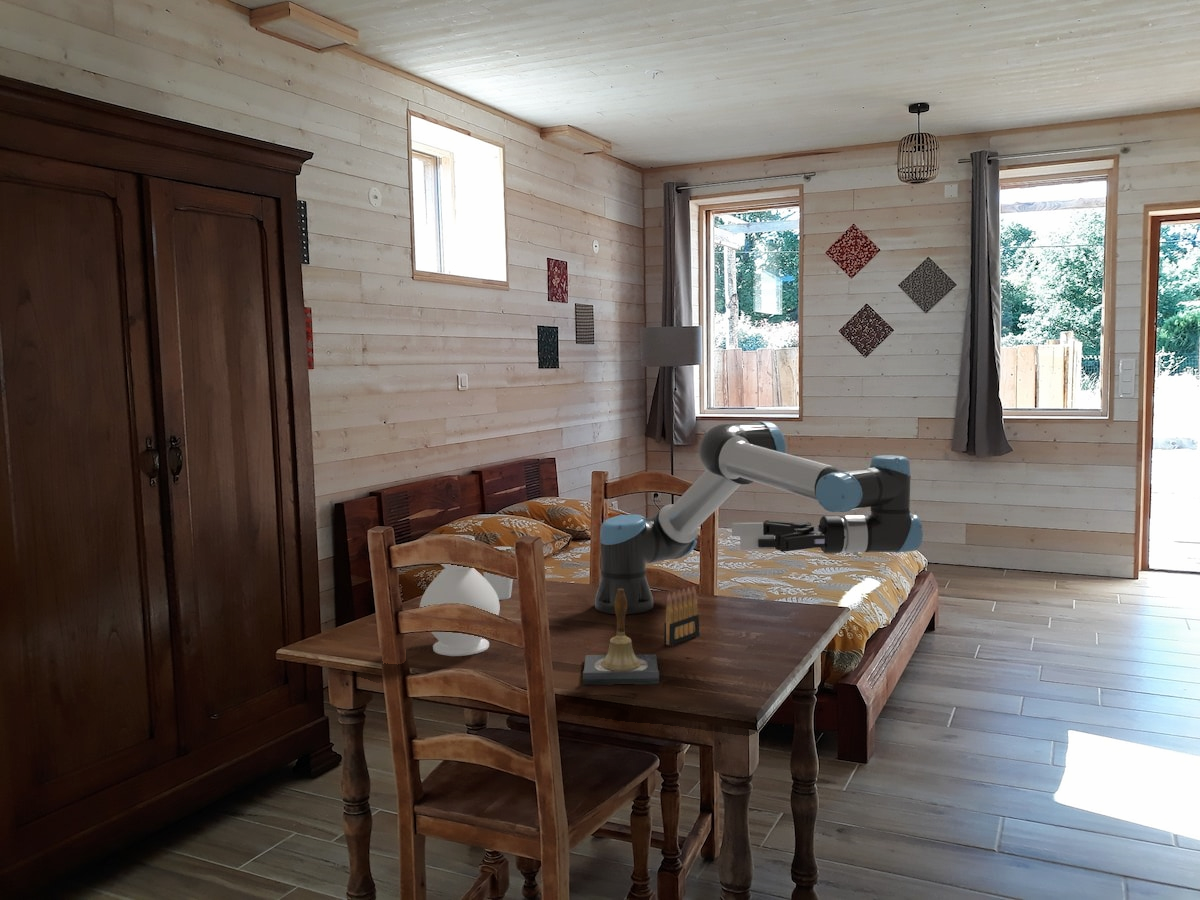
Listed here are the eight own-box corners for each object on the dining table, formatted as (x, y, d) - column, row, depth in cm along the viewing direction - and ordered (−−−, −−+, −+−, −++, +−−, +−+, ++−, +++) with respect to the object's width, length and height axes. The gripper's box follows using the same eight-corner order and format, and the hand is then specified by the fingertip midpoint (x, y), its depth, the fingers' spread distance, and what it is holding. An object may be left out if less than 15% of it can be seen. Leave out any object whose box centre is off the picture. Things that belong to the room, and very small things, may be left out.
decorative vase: (433, 664, 198) (428, 549, 195) (412, 642, 214) (408, 535, 211) (511, 652, 205) (508, 540, 203) (486, 631, 221) (483, 528, 219)
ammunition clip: (670, 646, 207) (669, 594, 206) (663, 645, 208) (663, 592, 207) (699, 635, 215) (699, 585, 214) (693, 634, 216) (692, 583, 215)
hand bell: (644, 659, 194) (643, 584, 193) (636, 672, 186) (635, 594, 185) (605, 657, 196) (604, 583, 195) (596, 670, 188) (595, 593, 187)
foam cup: (475, 597, 254) (473, 550, 252) (502, 591, 260) (501, 545, 259) (495, 603, 247) (494, 555, 245) (523, 596, 253) (522, 549, 252)
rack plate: (585, 660, 199) (585, 649, 198) (655, 659, 198) (655, 648, 198) (583, 685, 184) (582, 672, 183) (659, 684, 183) (658, 671, 183)
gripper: (857, 566, 175) (744, 568, 176) (827, 540, 200) (728, 542, 200) (857, 527, 174) (744, 528, 175) (827, 506, 199) (728, 507, 200)
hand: (735, 535), depth 188 cm, fingers open, 13 cm apart
